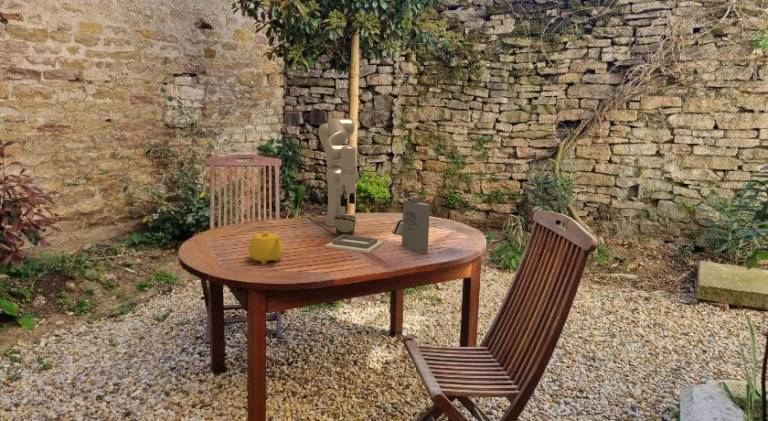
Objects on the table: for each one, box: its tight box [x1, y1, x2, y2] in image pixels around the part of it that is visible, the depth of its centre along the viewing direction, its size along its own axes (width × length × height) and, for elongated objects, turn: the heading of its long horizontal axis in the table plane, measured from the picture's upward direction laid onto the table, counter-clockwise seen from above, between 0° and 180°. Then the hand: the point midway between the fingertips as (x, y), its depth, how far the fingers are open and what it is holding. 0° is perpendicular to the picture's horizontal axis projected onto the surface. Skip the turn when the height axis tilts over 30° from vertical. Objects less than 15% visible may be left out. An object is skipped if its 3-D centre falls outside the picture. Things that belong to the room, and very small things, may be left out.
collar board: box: [324, 234, 384, 254], centre depth 237 cm, size 22×18×3 cm
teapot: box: [247, 230, 285, 265], centre depth 209 cm, size 13×20×12 cm
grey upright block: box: [401, 195, 431, 255], centre depth 232 cm, size 17×5×25 cm, turn 33°
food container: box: [334, 214, 357, 237], centre depth 256 cm, size 12×6×10 cm, turn 65°
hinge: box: [391, 217, 403, 236], centre depth 266 cm, size 17×5×10 cm, turn 123°
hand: (347, 204), depth 254 cm, fingers open, 9 cm apart
